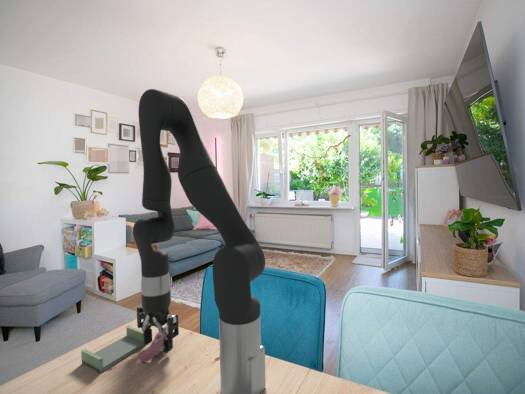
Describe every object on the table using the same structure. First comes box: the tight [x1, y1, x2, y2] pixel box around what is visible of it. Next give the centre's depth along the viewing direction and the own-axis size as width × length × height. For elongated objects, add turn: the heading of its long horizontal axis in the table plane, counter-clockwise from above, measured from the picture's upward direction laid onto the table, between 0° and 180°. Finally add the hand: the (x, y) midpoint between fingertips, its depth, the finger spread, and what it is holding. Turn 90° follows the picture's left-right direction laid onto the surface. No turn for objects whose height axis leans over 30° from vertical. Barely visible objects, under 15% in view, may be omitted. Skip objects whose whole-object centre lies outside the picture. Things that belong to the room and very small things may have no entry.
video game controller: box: [139, 329, 168, 363], centre depth 75 cm, size 10×5×7 cm, turn 177°
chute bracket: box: [80, 325, 146, 374], centre depth 74 cm, size 8×14×4 cm, turn 151°
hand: (157, 346), depth 75 cm, fingers closed on video game controller, 7 cm apart
